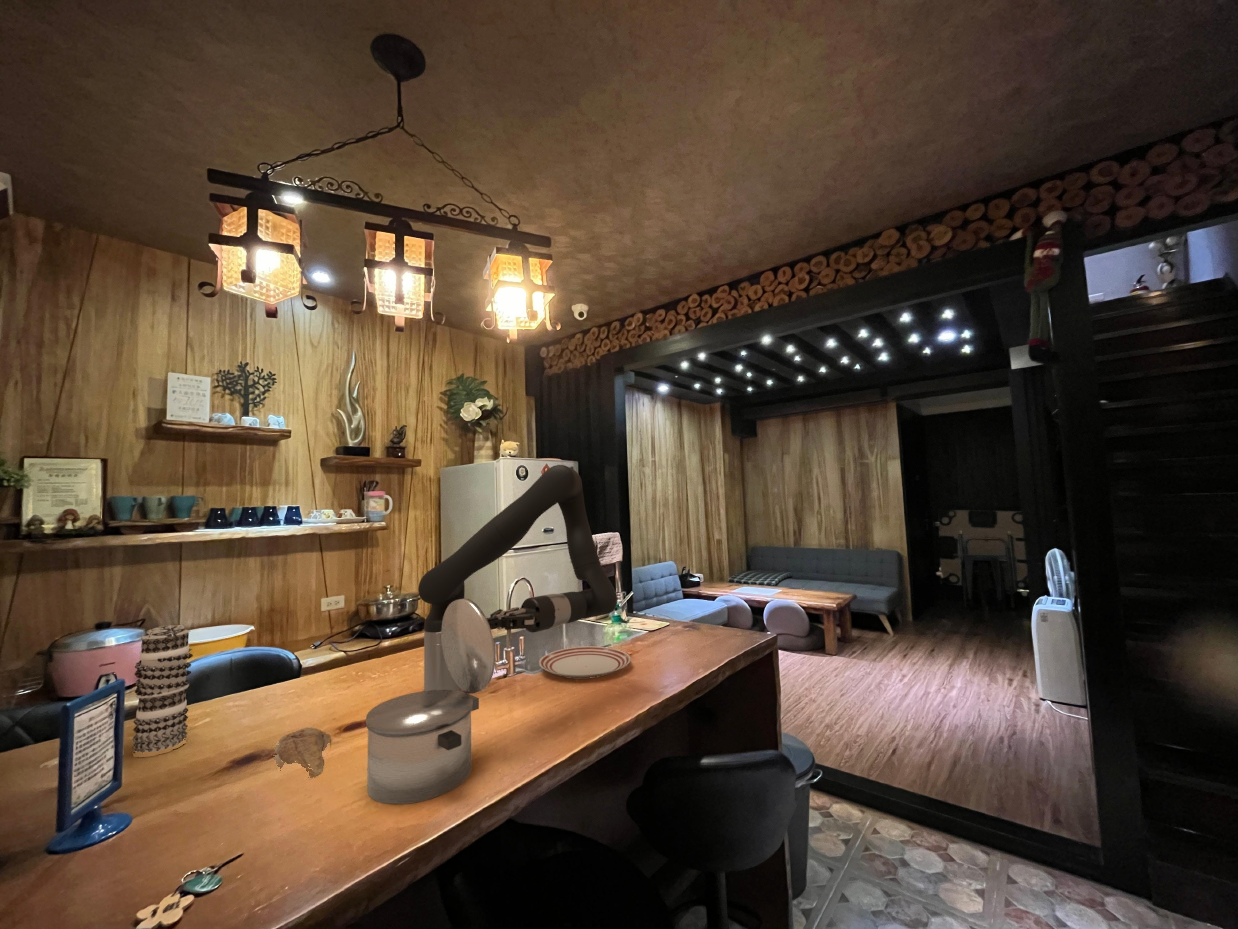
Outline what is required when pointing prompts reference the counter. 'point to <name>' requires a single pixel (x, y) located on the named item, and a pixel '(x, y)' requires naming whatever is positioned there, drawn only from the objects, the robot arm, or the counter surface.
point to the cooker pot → (419, 745)
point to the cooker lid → (468, 645)
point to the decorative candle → (162, 689)
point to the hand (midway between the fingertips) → (479, 626)
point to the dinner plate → (584, 661)
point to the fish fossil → (303, 749)
